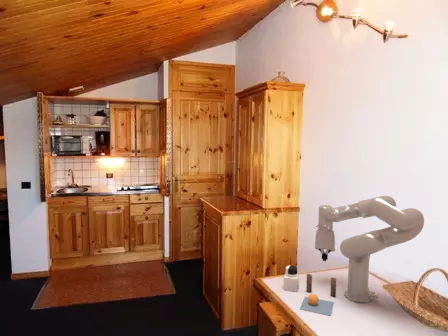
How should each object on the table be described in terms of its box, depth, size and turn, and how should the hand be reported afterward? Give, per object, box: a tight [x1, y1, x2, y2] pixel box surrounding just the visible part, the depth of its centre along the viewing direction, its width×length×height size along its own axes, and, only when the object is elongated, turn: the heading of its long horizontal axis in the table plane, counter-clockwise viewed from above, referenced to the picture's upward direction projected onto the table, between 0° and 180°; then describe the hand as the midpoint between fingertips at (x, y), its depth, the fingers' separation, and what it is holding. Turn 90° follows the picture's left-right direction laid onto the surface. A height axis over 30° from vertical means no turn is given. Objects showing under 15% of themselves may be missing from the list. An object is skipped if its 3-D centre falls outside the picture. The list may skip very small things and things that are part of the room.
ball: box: [307, 293, 320, 305], centre depth 155 cm, size 5×5×5 cm
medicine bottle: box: [283, 265, 300, 293], centre depth 173 cm, size 7×7×12 cm
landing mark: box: [299, 296, 335, 317], centre depth 154 cm, size 14×14×1 cm
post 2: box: [329, 277, 337, 298], centre depth 164 cm, size 3×3×9 cm
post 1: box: [306, 273, 313, 294], centre depth 169 cm, size 3×3×9 cm
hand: (324, 260), depth 178 cm, fingers closed
